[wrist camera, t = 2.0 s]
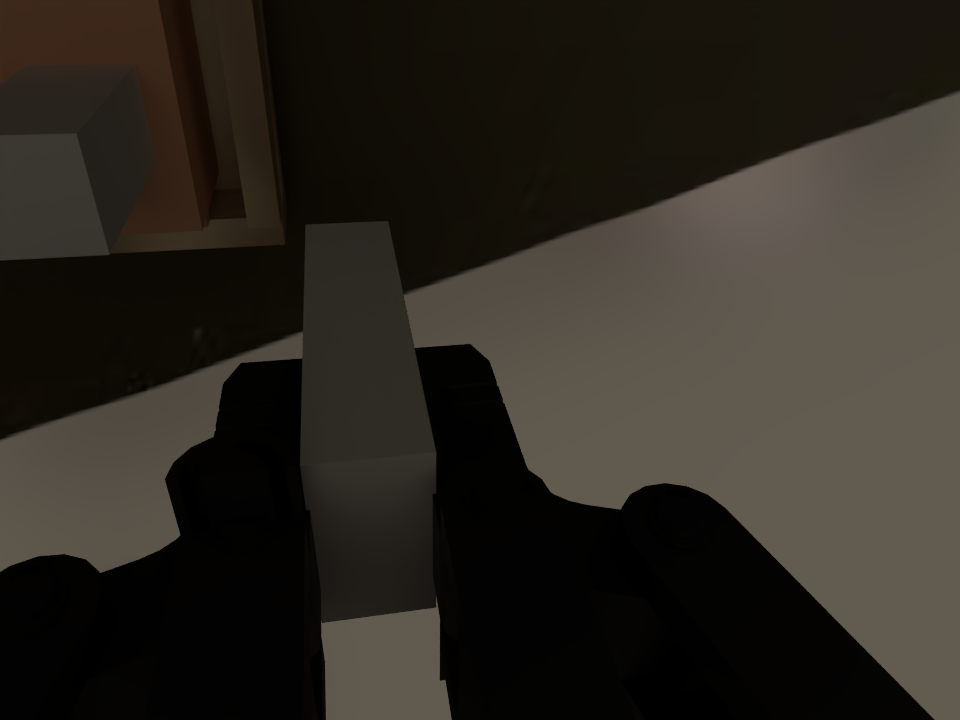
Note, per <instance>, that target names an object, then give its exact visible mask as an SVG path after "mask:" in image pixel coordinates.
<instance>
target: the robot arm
mask: <svg viewBox="0 0 960 720" xmlns="http://www.w3.org/2000/svg"><path fill="white" fill-rule="evenodd" d="M165 481H166V485H167V488H168V492H169V495H170V499H171V503H172V506H173V510H174V513H175V517H176V521H177V524H178V528H179V531H180V536H179V537H178V538H177V539H176V540H175V541H173V542H172V543H170V544H169V545H167V546H166V547H164V548H162V549H161V550H159V551H157V552H155V553H153V554H150V555H148V556H146V557H144V558H141V559H139V560H136V561H133V562H130V563H128V564H125V565H122V566H119V567H116V568H114V569H111V570H108V571H105V572H102V573H100V572H99V571H98V570H97V569H96V568H95V567H94V566H92V565H91V564H90V563H89V562H88V561H87V560H86V559H82V558H78V557H74V556H69V555H65V554H62V555H50V556H39V557H35V558H32V559H29V560H27V561H23V562H21V563H18V564H15V565H12V566H9V567H8V568H6V569H4V570H3V571H1V572H0V720H326V703H325V660H324V653H323V646H322V639H321V621H322V623H325V622H331V621H339V620H347V619H354V618H362V617H368V616H376V615H384V614H390V613H398V612H406V611H413V610H420V609H428V608H435V607H436V597H437V603H438V608H439V615H440V680H446V686H447V692H448V698H449V705H450V711H451V717H452V720H934V719H933V718H932V717H931V716H930V715H929V714H928V713H927V712H926V711H925V710H924V709H923V708H922V707H921V706H920V705H919V704H918V703H917V702H916V701H915V700H914V699H913V698H912V696H911V695H910V694H909V693H907V691H906V690H904V688H903V687H902V686H900V685H899V683H898V682H897V681H896V680H895V679H894V678H893V677H892V676H891V675H890V674H889V673H888V672H887V671H886V670H885V669H884V668H883V667H882V666H881V665H880V664H879V663H878V662H877V661H876V660H875V659H874V658H873V657H872V656H871V655H870V654H869V653H868V652H867V651H866V650H865V649H864V648H863V647H862V646H861V645H860V644H859V643H858V642H857V641H856V640H855V639H854V638H853V637H852V636H851V635H850V634H849V633H848V632H847V631H846V630H845V629H844V628H843V627H842V626H841V625H840V624H839V623H838V622H837V621H836V620H835V619H834V618H833V617H832V616H831V615H830V614H829V613H828V612H827V611H826V609H825V608H823V607H822V606H821V604H819V602H817V600H815V598H814V597H813V596H812V595H811V594H810V593H809V592H807V590H806V589H805V588H804V587H803V586H802V585H801V584H800V583H799V582H798V581H797V580H796V579H795V578H794V577H793V576H792V575H791V574H790V573H789V572H788V571H787V570H786V569H785V568H784V567H783V566H782V565H781V564H780V563H779V562H778V561H777V560H776V559H775V558H774V557H773V556H772V555H771V554H770V553H769V552H768V551H767V550H766V549H765V548H764V547H763V546H762V545H761V544H760V543H759V542H758V541H757V540H756V539H755V538H754V537H753V536H752V535H751V534H750V533H749V532H748V531H747V530H746V529H745V528H744V527H743V526H742V525H741V524H740V523H739V521H738V520H737V519H736V518H735V517H734V516H732V514H731V513H730V512H729V511H728V510H727V509H726V508H725V507H723V506H722V505H721V504H719V503H718V502H717V501H715V500H714V499H713V498H711V497H710V496H709V495H707V494H704V493H702V492H700V491H697V490H695V489H692V488H690V487H687V486H681V485H674V484H666V483H664V484H657V485H650V486H645V487H643V488H641V489H639V490H638V491H636V492H634V493H632V494H630V496H629V497H628V499H627V500H626V502H625V503H624V505H623V506H622V509H621V510H619V509H612V508H604V507H598V506H591V505H584V504H580V503H576V502H571V501H568V500H566V499H563V498H561V497H559V496H556V495H554V494H552V493H551V492H550V491H549V489H548V488H547V486H546V485H545V483H544V482H543V480H542V479H541V478H539V477H538V476H537V475H535V474H534V473H532V472H531V471H529V470H528V468H527V466H526V463H525V460H524V458H523V455H522V452H521V449H520V447H519V444H518V441H517V438H516V435H515V432H514V429H513V427H512V424H511V421H510V418H509V415H508V412H507V410H506V407H505V404H504V403H503V398H502V396H501V393H500V390H499V387H498V386H497V382H496V379H495V376H494V373H493V370H492V367H491V364H490V362H489V360H488V359H486V358H485V357H484V356H483V355H482V354H481V353H480V352H479V351H477V350H476V349H475V348H474V347H473V346H472V345H471V344H464V345H451V346H436V347H423V348H414V344H413V339H412V334H411V330H410V325H409V320H408V315H407V310H406V306H405V301H404V296H403V291H402V286H401V281H400V276H399V272H398V267H397V262H396V257H395V252H394V248H393V243H392V238H391V233H390V228H389V224H388V221H379V222H356V223H332V224H309V225H306V232H305V274H304V316H303V358H302V359H291V360H277V361H262V362H249V363H241V364H240V365H239V366H238V367H237V368H236V370H235V371H234V372H233V373H232V374H231V375H230V377H229V378H228V379H227V380H226V381H225V382H224V384H223V388H222V393H221V399H220V405H219V412H218V416H217V422H216V431H215V433H214V437H213V438H210V439H208V440H206V441H204V442H202V443H200V444H198V445H195V446H193V447H191V448H190V449H189V450H187V451H186V452H185V453H184V454H183V455H182V456H180V458H178V459H177V460H176V461H175V462H174V463H173V465H172V467H171V468H170V470H169V472H168V474H167V476H166V478H165Z"/></svg>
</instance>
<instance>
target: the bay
mask: <svg viewBox="0 0 960 720" xmlns="http://www.w3.org/2000/svg"><path fill="white" fill-rule="evenodd" d="M190 4H191V10H192V16H193V22H194V27H195V33H196V39H197V45H198V51H199V57H200V63H201V68H202V74H203V80H204V86H205V92H206V98H207V104H208V109H209V115H210V121H211V127H212V133H213V139H214V145H215V150H216V156H217V162H218V168H219V174H218V178H217V181H216V185H215V188H214V192H213V195H212V199H211V202H210V206H209V216H210V221H209V225H208V228H203V231H191V232H170V233H148V234H127V235H119V237H118V239H117V241H116V243H115V245H114V247H113V249H112V251H111V253H130V252H149V251H169V250H189V249H209V248H228V247H248V246H268V245H285V235H286V217H287V202H286V194H285V185H284V177H283V169H282V161H281V152H280V144H279V136H278V127H277V119H276V111H275V102H274V94H273V86H272V77H271V69H270V61H269V52H268V44H267V36H266V28H265V19H264V11H263V3H262V0H190Z"/></svg>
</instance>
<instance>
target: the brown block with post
mask: <svg viewBox="0 0 960 720" xmlns="http://www.w3.org/2000/svg"><path fill="white" fill-rule="evenodd" d="M218 174H219V168H218V162H217V156H216V150H215V145H214V139H213V133H212V127H211V121H210V115H209V109H208V104H207V98H206V92H205V86H204V80H203V74H202V68H201V63H200V57H199V51H198V45H197V39H196V33H195V27H194V22H193V16H192V10H191V4H190V0H0V260H18V259H38V258H57V257H77V256H97V255H110V253H111V251H112V249H113V247H114V245H115V243H116V241H117V239H118V237H119V235H127V234H148V233H170V232H191V231H203V228H208V225H209V221H210V216H209V206H210V202H211V199H212V195H213V192H214V188H215V185H216V181H217V178H218Z"/></svg>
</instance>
